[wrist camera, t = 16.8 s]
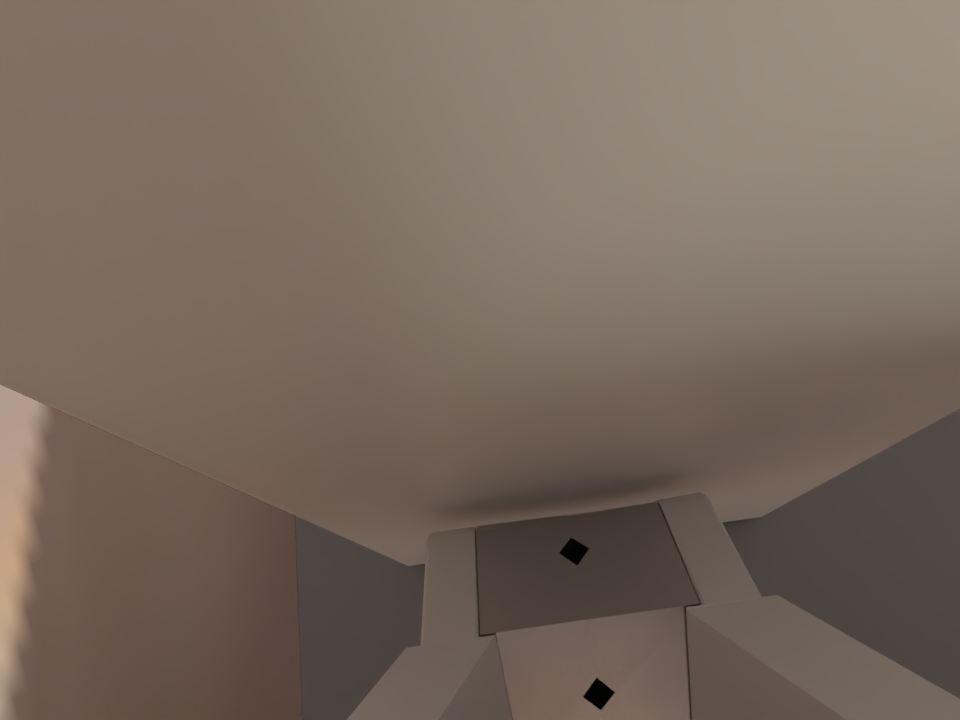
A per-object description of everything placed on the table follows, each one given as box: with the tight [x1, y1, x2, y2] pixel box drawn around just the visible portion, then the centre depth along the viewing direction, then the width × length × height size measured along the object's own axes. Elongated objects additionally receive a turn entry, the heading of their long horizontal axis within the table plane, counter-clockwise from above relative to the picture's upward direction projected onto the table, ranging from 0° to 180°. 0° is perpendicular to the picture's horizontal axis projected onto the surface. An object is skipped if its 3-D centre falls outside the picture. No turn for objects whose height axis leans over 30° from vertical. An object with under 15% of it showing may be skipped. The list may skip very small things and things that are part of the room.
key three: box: [0, 0, 960, 566], centre depth 8 cm, size 4×6×12 cm
